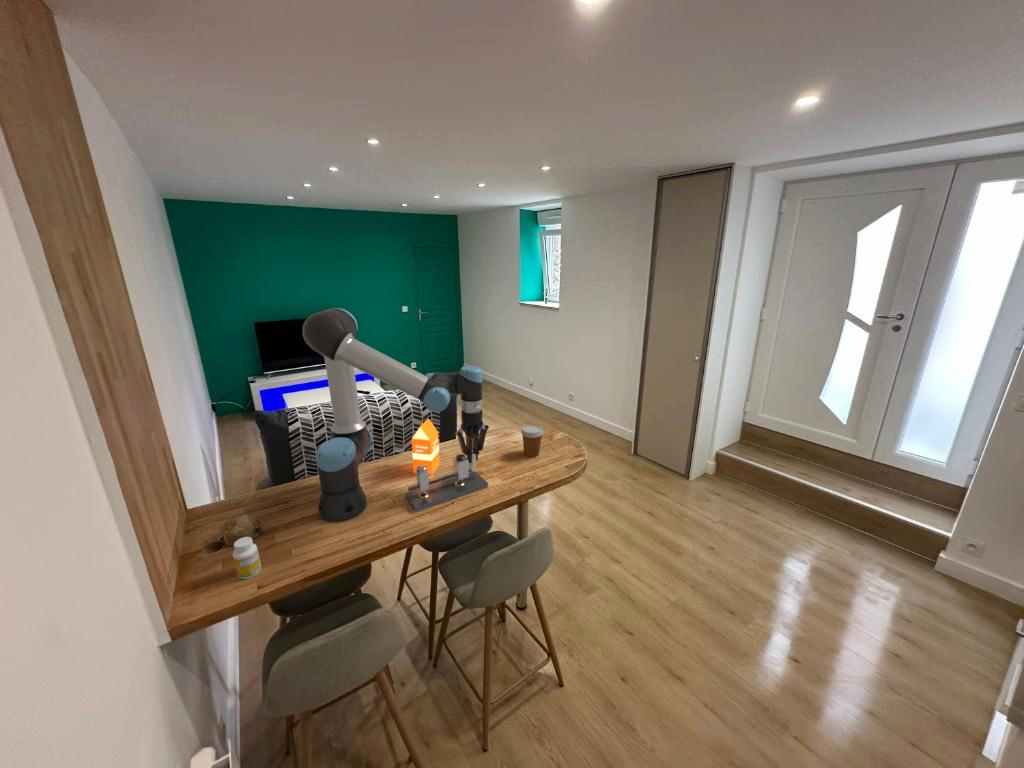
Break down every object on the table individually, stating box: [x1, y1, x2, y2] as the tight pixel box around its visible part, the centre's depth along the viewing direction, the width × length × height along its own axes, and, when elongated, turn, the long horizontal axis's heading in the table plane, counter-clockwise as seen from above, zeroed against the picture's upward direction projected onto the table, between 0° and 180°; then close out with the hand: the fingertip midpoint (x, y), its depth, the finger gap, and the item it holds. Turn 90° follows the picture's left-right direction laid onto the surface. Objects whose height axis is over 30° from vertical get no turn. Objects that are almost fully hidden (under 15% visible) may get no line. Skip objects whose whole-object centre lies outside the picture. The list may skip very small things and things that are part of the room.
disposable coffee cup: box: [520, 424, 544, 458], centre depth 171 cm, size 10×10×12 cm
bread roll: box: [217, 514, 261, 547], centre depth 119 cm, size 10×10×8 cm
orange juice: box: [411, 418, 440, 475], centre depth 157 cm, size 8×9×20 cm
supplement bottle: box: [232, 537, 262, 580], centre depth 105 cm, size 5×5×10 cm
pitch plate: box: [404, 465, 489, 513], centre depth 141 cm, size 28×10×13 cm, turn 124°
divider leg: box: [452, 453, 470, 481], centre depth 144 cm, size 4×4×10 cm
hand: (472, 469), depth 147 cm, fingers closed
